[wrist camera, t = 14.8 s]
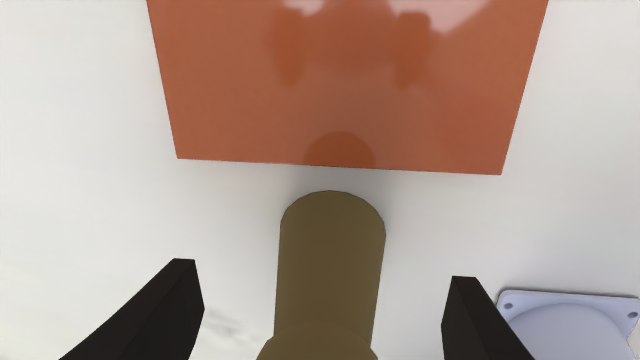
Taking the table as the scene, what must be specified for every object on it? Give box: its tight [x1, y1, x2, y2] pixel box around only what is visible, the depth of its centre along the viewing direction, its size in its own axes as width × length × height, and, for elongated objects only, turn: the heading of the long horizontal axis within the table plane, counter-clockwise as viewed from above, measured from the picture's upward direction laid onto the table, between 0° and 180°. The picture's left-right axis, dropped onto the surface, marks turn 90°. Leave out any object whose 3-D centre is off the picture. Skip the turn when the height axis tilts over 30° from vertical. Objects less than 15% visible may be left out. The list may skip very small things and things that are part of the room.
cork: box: [256, 191, 386, 360], centre depth 20 cm, size 6×6×11 cm
